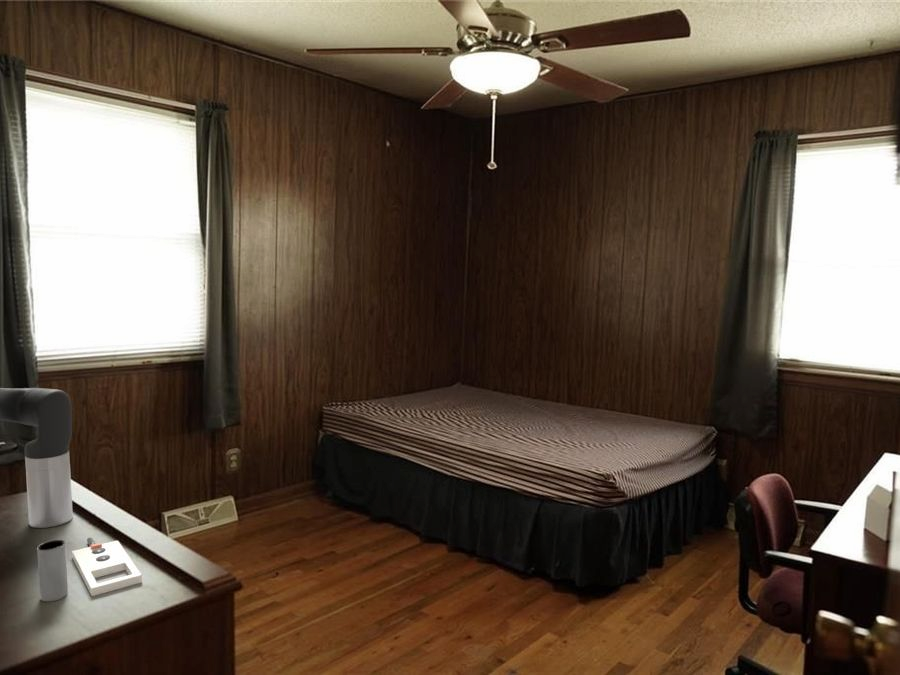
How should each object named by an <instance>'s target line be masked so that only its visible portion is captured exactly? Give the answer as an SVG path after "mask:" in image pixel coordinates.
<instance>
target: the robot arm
mask: <svg viewBox="0 0 900 675" xmlns="http://www.w3.org/2000/svg"><path fill="white" fill-rule="evenodd" d="M0 421H6V422H11V423H17V424H21V425H22V424H23V425H27V426H31V427H37V438H36V439H33V440H31V441H28V442H27V443H26V444H25V446H24V461H25V475H26V476H25V477H26V493H27V507H28V508H27V509H28V525H29V526H30V527H31V528H36V529H45V528H46V529H47V528H51V527H56V526H61V525H64V524H66V523H68V522H70V521H71V520H72V519H73V516H74V514H73V496H72V480H71V479H72V478H71V477H72V476H71V462H70V460H71V459H70V443H71V440H72V437H73V435H72V434H73V406H72V401H71V398H70V396H69V394H68V393H66V391H64V390H61V389H56V388H55V389H54V388H43V387H42V388H41V387H29V388H27V387H24V388H9V387H8V388H4V387H0Z"/></svg>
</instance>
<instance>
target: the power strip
mask: <svg viewBox="0 0 900 675" xmlns="http://www.w3.org/2000/svg"><path fill="white" fill-rule="evenodd" d="M86 542H87V544H88V545H89V546H88V547H84V548H80V549H79V548H78V549H76V550H72V551H71V553H72V554H71V556H72V560H73V562H74V564H75V566H76V568H77V570H78V572H79V574H80V576H81V577H82V580H83V582H84V584H85V586H86V588H87V589H88V590H87V591H88V592H89V593H90V595H91V597H95V596H99V595H102V594H105V593H109V592H112V591H115V590H119V589H123V588H126V587H131V586H134V585H138V584H141V583H143V578H142V576H143V574H142V573H141V572H140V570H139V569H138V568H137V566H136V565H135V563H134V562H133V560H132V559H131V558H130V556H129V554H128V553H127V552H126V550H125V549H124V547H123V546H122V544H121V543H120V541H119V540H113V541H109V542H105V543H101V542H98V543H97V542H95V541H94V539H93V537H88V538H87V539H86ZM122 571H126V573H127V574H128V575H125V576H121V577H116V578H114V579H109V580H106V581H102V582H97V580H96V578H100V577H103V576H108V575H112V574H115V573H119V572H122Z"/></svg>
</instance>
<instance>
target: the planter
mask: <svg viewBox="0 0 900 675" xmlns="http://www.w3.org/2000/svg"><path fill="white" fill-rule="evenodd" d="M36 549H37V550H36V551H37V564H38V582H39V583H38V584H39V598H40V600H41V601H43V602H54V601H58V600H61V599H63V598H65V597H66V596H67V595H68V593H69V592H68V590H69V588H68V587H69V586H68V570H67V569H68V568H67V557H66V555H67V554H66V542H65V541H64V540H62V539H53V540H49V541H46V542H45V541H44V542H42V543H40V544H39V545H38V546H37V548H36Z"/></svg>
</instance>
